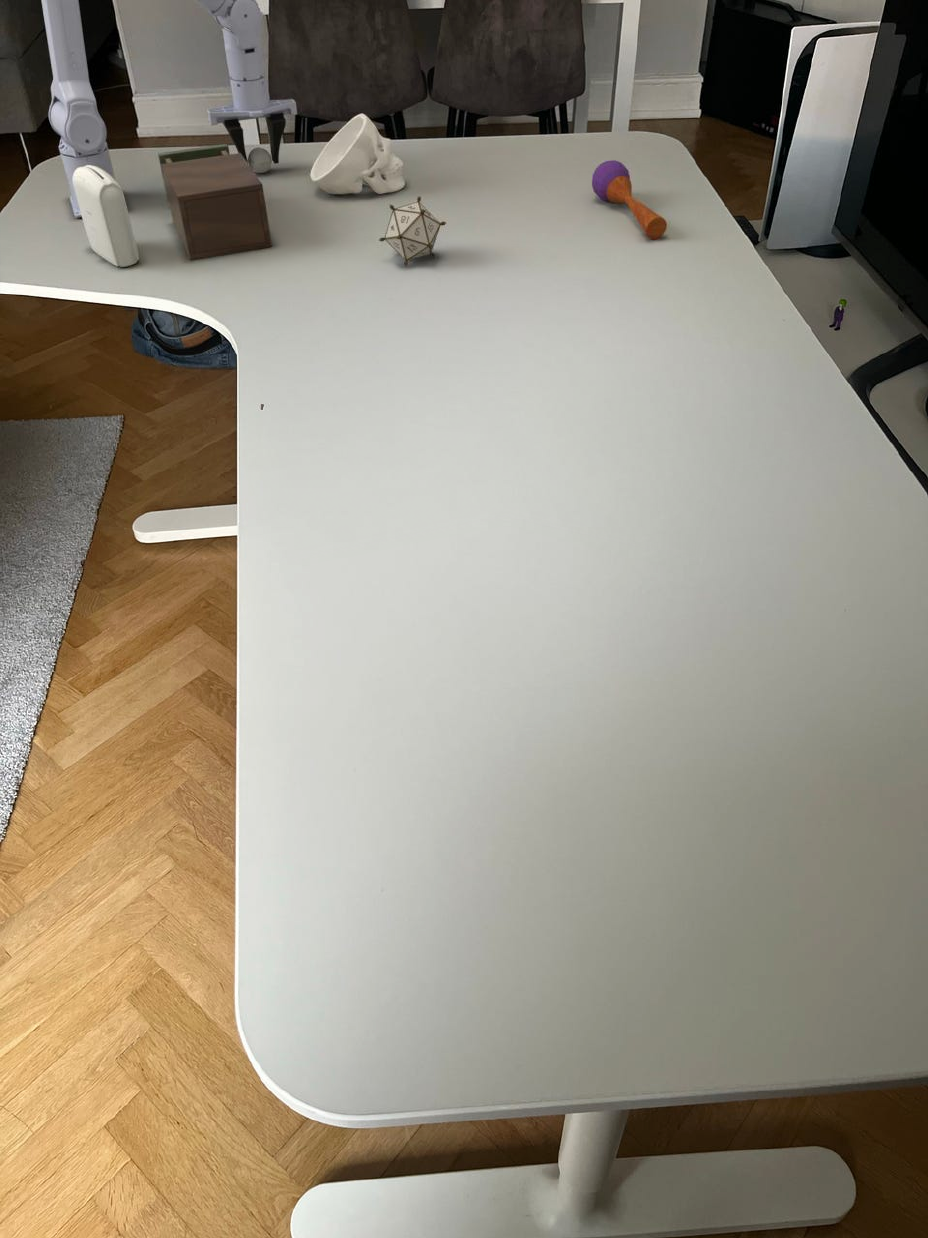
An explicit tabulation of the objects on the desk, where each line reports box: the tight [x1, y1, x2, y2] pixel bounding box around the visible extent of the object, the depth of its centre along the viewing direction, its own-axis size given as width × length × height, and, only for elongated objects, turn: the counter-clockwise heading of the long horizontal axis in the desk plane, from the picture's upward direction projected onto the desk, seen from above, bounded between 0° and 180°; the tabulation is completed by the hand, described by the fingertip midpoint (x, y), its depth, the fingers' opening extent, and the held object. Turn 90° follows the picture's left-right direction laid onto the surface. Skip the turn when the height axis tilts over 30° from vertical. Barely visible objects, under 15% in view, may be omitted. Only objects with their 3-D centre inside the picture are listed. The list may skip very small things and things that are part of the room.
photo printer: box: [72, 165, 140, 268], centre depth 142 cm, size 10×4×12 cm, turn 39°
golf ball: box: [247, 147, 273, 174], centre depth 170 cm, size 4×4×4 cm
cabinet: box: [160, 153, 273, 261], centre depth 148 cm, size 15×12×9 cm
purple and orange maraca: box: [591, 159, 668, 240], centre depth 153 cm, size 6×6×20 cm
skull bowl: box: [309, 113, 406, 195], centre depth 163 cm, size 10×14×12 cm
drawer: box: [157, 143, 231, 203], centre depth 156 cm, size 18×11×7 cm, turn 22°
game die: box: [378, 195, 447, 268], centre depth 141 cm, size 9×8×10 cm
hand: (260, 163), depth 171 cm, fingers open, 5 cm apart
